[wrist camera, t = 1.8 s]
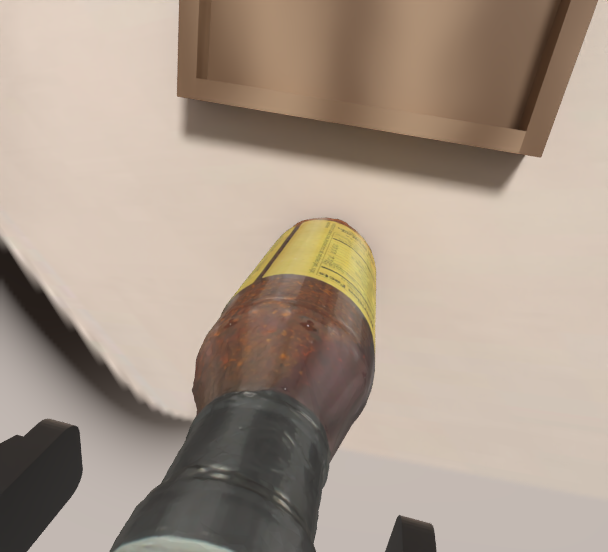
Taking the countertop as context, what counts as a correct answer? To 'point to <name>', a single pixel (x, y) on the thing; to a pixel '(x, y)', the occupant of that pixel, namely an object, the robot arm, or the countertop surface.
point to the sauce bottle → (270, 402)
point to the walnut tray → (390, 63)
